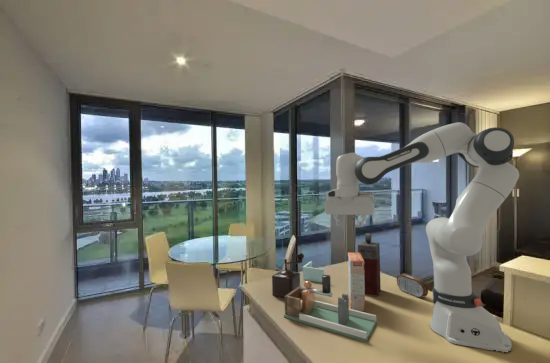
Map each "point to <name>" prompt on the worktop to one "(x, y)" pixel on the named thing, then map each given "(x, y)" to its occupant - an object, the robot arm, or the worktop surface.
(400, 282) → the tin
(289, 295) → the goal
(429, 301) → the worktop surface
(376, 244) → the toy vending machine
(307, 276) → the right angle wall
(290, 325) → the worktop surface
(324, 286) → the black head mallet
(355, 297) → the cracker box
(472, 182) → the robot arm
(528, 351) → the worktop surface
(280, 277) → the manual coffee grinder
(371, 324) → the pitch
